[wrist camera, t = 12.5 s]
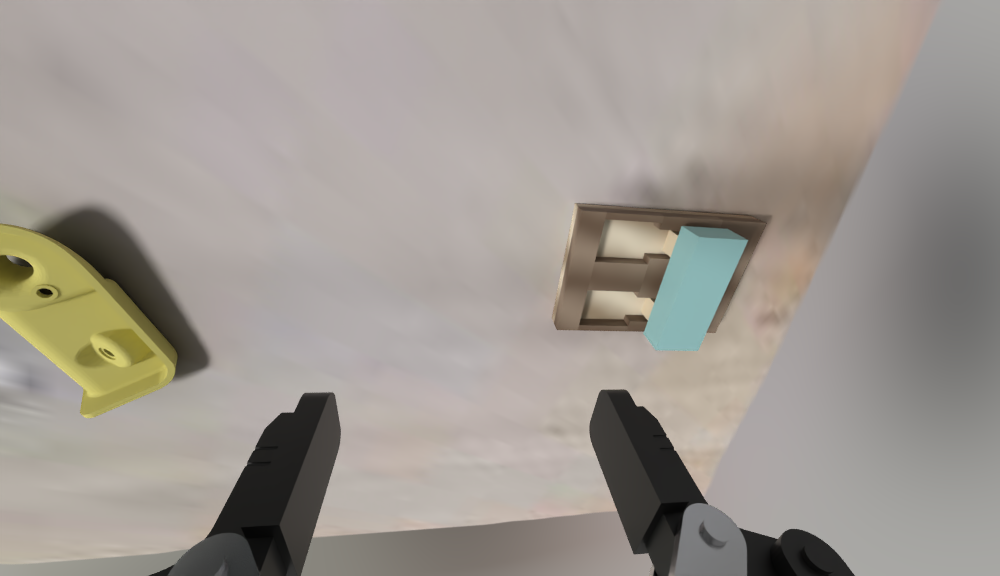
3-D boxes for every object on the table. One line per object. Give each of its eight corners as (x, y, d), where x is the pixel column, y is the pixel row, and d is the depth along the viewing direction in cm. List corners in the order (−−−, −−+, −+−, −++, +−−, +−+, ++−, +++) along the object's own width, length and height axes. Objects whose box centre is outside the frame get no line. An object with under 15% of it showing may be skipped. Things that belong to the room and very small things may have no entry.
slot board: (575, 203, 38) (582, 210, 35) (750, 215, 40) (766, 223, 38) (551, 318, 44) (556, 329, 42) (703, 321, 47) (715, 332, 45)
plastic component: (186, 377, 40) (69, 428, 36) (191, 341, 46) (89, 382, 42) (29, 206, 29) (-164, 254, 25) (60, 186, 34) (-95, 222, 31)
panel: (668, 217, 38) (699, 237, 34) (712, 220, 39) (748, 240, 34) (634, 321, 45) (655, 350, 40) (672, 322, 45) (698, 350, 41)
